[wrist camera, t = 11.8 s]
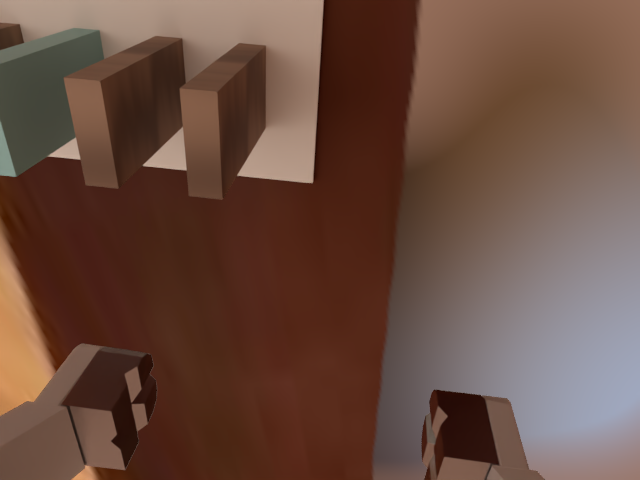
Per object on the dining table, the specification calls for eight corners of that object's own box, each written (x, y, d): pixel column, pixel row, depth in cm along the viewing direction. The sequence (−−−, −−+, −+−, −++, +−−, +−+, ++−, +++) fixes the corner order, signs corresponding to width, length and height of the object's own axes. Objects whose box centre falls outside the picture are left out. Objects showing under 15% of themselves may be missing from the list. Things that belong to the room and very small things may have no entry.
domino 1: (155, 35, 29) (63, 77, 21) (182, 38, 29) (100, 80, 21) (164, 118, 32) (85, 185, 24) (188, 120, 32) (118, 188, 23)
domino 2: (238, 43, 29) (179, 88, 21) (265, 45, 29) (217, 91, 20) (240, 125, 32) (189, 196, 23) (265, 128, 32) (222, 199, 23)
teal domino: (73, 27, 30) (-51, 65, 21) (99, 30, 30) (-15, 68, 21) (89, 110, 32) (-16, 173, 24) (112, 112, 32) (16, 176, 24)
